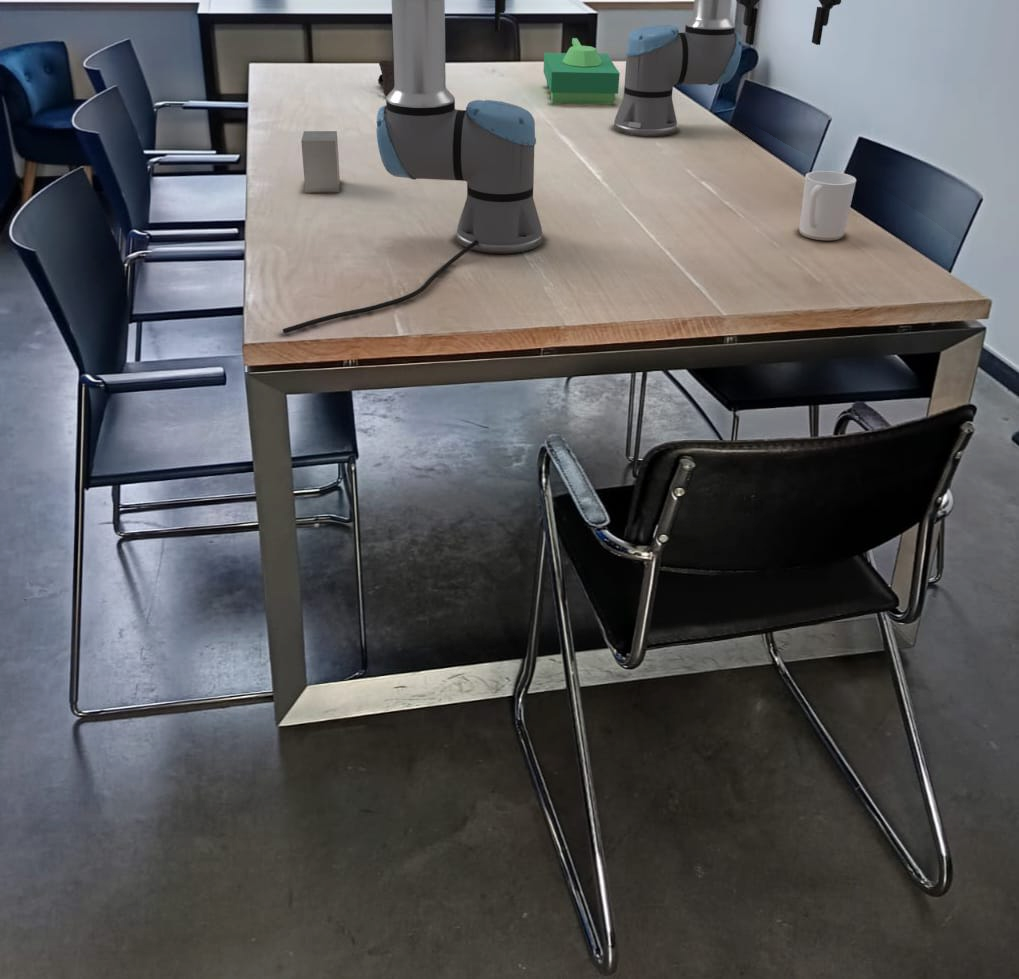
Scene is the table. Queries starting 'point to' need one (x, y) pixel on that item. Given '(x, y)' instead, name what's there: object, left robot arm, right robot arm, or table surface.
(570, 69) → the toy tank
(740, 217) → the table surface
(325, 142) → the brick
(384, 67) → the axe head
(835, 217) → the mug
